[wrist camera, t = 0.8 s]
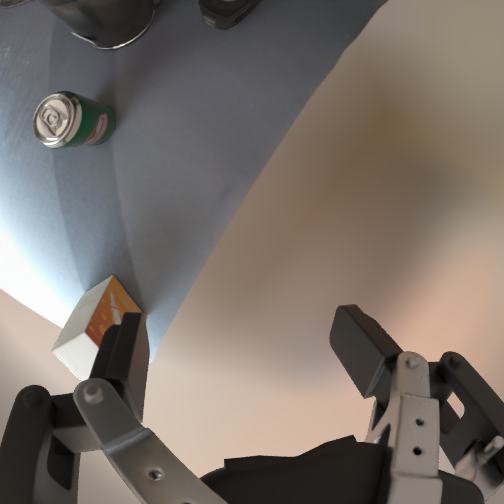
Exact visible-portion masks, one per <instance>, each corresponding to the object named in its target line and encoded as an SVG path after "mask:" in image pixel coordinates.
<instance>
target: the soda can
mask: <svg viewBox="0 0 504 504" xmlns="http://www.w3.org/2000/svg"><path fill="white" fill-rule="evenodd" d="M115 126H116V116H115V113H114V111H113V110H112V109H111V108H110V107H109V106H107V105H105V104H102V103H100V102H97V101H95V100H92V99H89V98H86V97H84V96H81V95H78V94H75V93H72V92H69V91H60V92H57V93H55V94H53V95H51V96H49V97H47V98H46V99H44V100H43V101H42V102H41V103H40V105H39V106H38V108H37V110H36V112H35V114H34V118H33V131H34V134H35V136H36V138H37V139H38V141H40V142H41V143H42V144H43V145H44V146H46V147H48V148H52V149H57V148H66V147H77V146H89V145H99V144H101V143H104V142H105V141H106V140H108V139H109V138H110V137H111V135H112V134H113V132H114V129H115Z"/></svg>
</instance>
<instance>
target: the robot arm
mask: <svg viewBox="0 0 504 504" xmlns="http://www.w3.org/2000/svg"><path fill="white" fill-rule="evenodd" d="M38 1H39V2H40V3H42V4H43V5H44V6H45V7H47V8H48V9H49V10H50V11H52V12H53V13H54V14H55V15H56V16H58V17H59V18H60V19H61V20H63V21H64V22H65V23H66V24H67V25H68V26H70V27H71V28H72V29H73V30H74V31H76V32H77V33H78V34H79V35H80V36H79V35H77V34H74V33H72V32H71V33H72V34H74V35H75V36H77V37H79V38H82V39H84V40H86V42H87V43H88V44H90V45H91V46H92V47H94V48H96V49H99V50H114V49H119V48H122V47H124V46H127V45H129V44H131V43H132V42H134V41H136V40H137V39H138V38H140V37H141V36H142V35H143V34H144V33H145V32H146V31H147V30H148V28H149V27H150V25H151V24H152V22H153V19H154V16H155V10H156V8H158V7H159V6H160V1H162V0H38ZM81 36H82V37H81ZM330 345H331V347H332V349H333V351H334V352H335V354H336V355H337V357H338V358H339V360H340V361H341V363H342V365H343V366H344V368H345V369H346V371H347V373H348V374H349V376H350V377H351V379H352V381H353V382H354V384H355V385H356V387H357V388H358V390H359V391H360V393H361V395H362V396H363V398H364V399H366V398H369V397H372V396H375V397H376V400H375V402H374V405H373V410H372V415H371V419H370V424H369V429H368V433H367V436H366V439H365V442H357V441H356V439H355V437H354V435H350V436H347V437H343V438H340V439H336V440H333V441H329V442H326V443H323V444H322V445H320V446H318V447H316V448H314V449H312V450H310V451H308V452H305V453H303V454H301V455H299V456H296V457H279V456H261V455H258V456H250V457H241V458H231V459H224V467H223V468H219V469H216V470H214V471H212V472H209V473H207V474H206V475H204V476H202V477H201V478H198V477H197V476H195V475H194V474H193V473H192V472H191V471H190V470H189V469H188V468H187V467H186V466H185V465H184V464H183V463H182V462H181V461H180V460H179V459H178V458H177V457H176V456H175V455H174V454H173V453H172V452H171V451H170V450H169V449H168V448H167V447H166V446H165V445H164V443H163V442H162V441H161V440H160V439H159V438H158V437H157V436H156V435H155V434H154V432H152V431H151V430H150V429H149V428H144V427H143V426H142V425H141V423H142V420H143V409H144V398H145V388H146V380H147V372H148V364H149V355H150V350H149V341H148V335H147V329H146V322H145V316H144V313H143V312H125V313H124V315H123V318H122V321H121V324H112V325H111V326H110V327H109V328H108V329H107V330H106V331H105V332H104V335H103V338H102V340H101V343H100V346H99V351H98V352H97V355H96V357H95V360H94V363H93V366H92V369H91V373H90V376H89V379H87V380H84V381H82V382H81V383H79V384H78V385H77V387H76V388H75V390H74V392H73V393H69V394H62V395H55V396H51V395H50V394H49V392H48V391H47V390H46V389H45V388H44V387H42V386H38V385H30V386H27V387H25V388H24V389H22V390H21V391H20V392H19V393H18V395H17V397H16V399H15V402H14V405H13V408H12V410H11V413H10V416H9V420H8V422H7V426H6V429H5V432H4V435H3V439H2V442H1V446H0V504H77V495H78V477H79V464H80V455H81V452H87V451H94V450H102V451H103V453H104V454H105V456H106V457H107V459H108V460H109V462H110V463H111V464H112V466H113V467H114V469H115V470H116V471H117V473H118V474H119V475H120V477H121V478H122V479H123V481H124V482H125V483H126V485H127V486H128V487H129V488H130V490H131V491H132V492H133V493H134V495H135V496H136V497H137V498H138V499H139V501H140V502H141V503H142V504H485V501H487V500H488V499H489V498H490V497H491V496H492V495H493V494H495V493H496V492H497V491H498V490H500V489H501V488H502V487H503V486H504V403H503V401H502V400H501V399H500V398H499V397H498V395H497V394H496V393H495V392H494V391H493V389H491V387H490V386H489V385H488V384H487V383H486V381H485V380H484V379H483V378H482V377H481V376H480V375H479V373H478V372H477V371H476V370H475V369H474V368H473V367H472V366H471V365H470V364H469V363H468V361H467V360H466V359H465V358H464V357H463V356H461V355H460V354H458V353H456V352H451V351H449V352H445V353H444V354H443V355H442V357H441V359H440V361H439V362H427V361H426V360H425V358H424V357H422V356H421V355H419V354H417V353H415V352H409V351H407V352H404V351H403V350H402V349H401V348H400V347H399V346H398V345H397V343H396V342H395V341H394V340H393V339H392V338H391V337H390V336H389V335H388V334H386V331H385V330H384V329H383V328H381V326H380V325H379V324H378V323H377V321H376V320H374V319H373V318H371V317H369V316H368V315H366V314H364V313H363V312H362V310H360V308H359V307H358V306H357V305H355V304H352V305H342V306H339V307H338V308H337V310H336V313H335V317H334V321H333V325H332V329H331V332H330ZM452 392H454V393H455V394H456V396H457V397H458V398H459V400H460V401H461V402H462V403H463V405H464V408H465V411H464V415H463V416H462V417H461V419H460V418H459V417H458V415H457V414H456V412H455V411H454V410H453V408H452V407H451V406H450V404H449V403H448V402H447V399H448V398H449V396H450V395H451V394H452ZM140 422H141V423H140ZM439 445H440V446H441V448H442V449H443V451H444V453H445V454H446V456H447V458H448V459H449V461H450V462H451V464H452V466H453V468H454V469H455V474H454V475H453V474H450V473H447V472H444V471H441V470H439V469H438V463H439Z"/></svg>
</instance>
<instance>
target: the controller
mask: <svg viewBox="0 0 504 504" xmlns="http://www.w3.org/2000/svg"><path fill="white" fill-rule="evenodd" d="M261 1H262V0H199V5H200V10H201V12H202V15H203V18H204V19H203V21H204V22H205V23H206V24H208V25H210V26H212V27H216V28H218V29H221V30H226V29H229V28H232V27H234V26H235V25H236V24H238V23H239V22H240V21H242V20H243V19H244V18H245V17H246V16H247V15H248V14H249V13H250V12H251V11H252V10H253V9H255V7H256V6H257V5H258V4H259V3H260V2H261Z"/></svg>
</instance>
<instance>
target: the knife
mask: <svg viewBox="0 0 504 504" xmlns="http://www.w3.org/2000/svg"><path fill="white" fill-rule="evenodd" d="M20 1H22V2H20ZM27 1H30V0H2V1H0V7H2V8H3V7H4V8H9V7H13V6H16V5H19V4H21V3H24V2H27ZM18 2H19V3H18ZM12 3H15V4H13V5H12Z"/></svg>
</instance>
